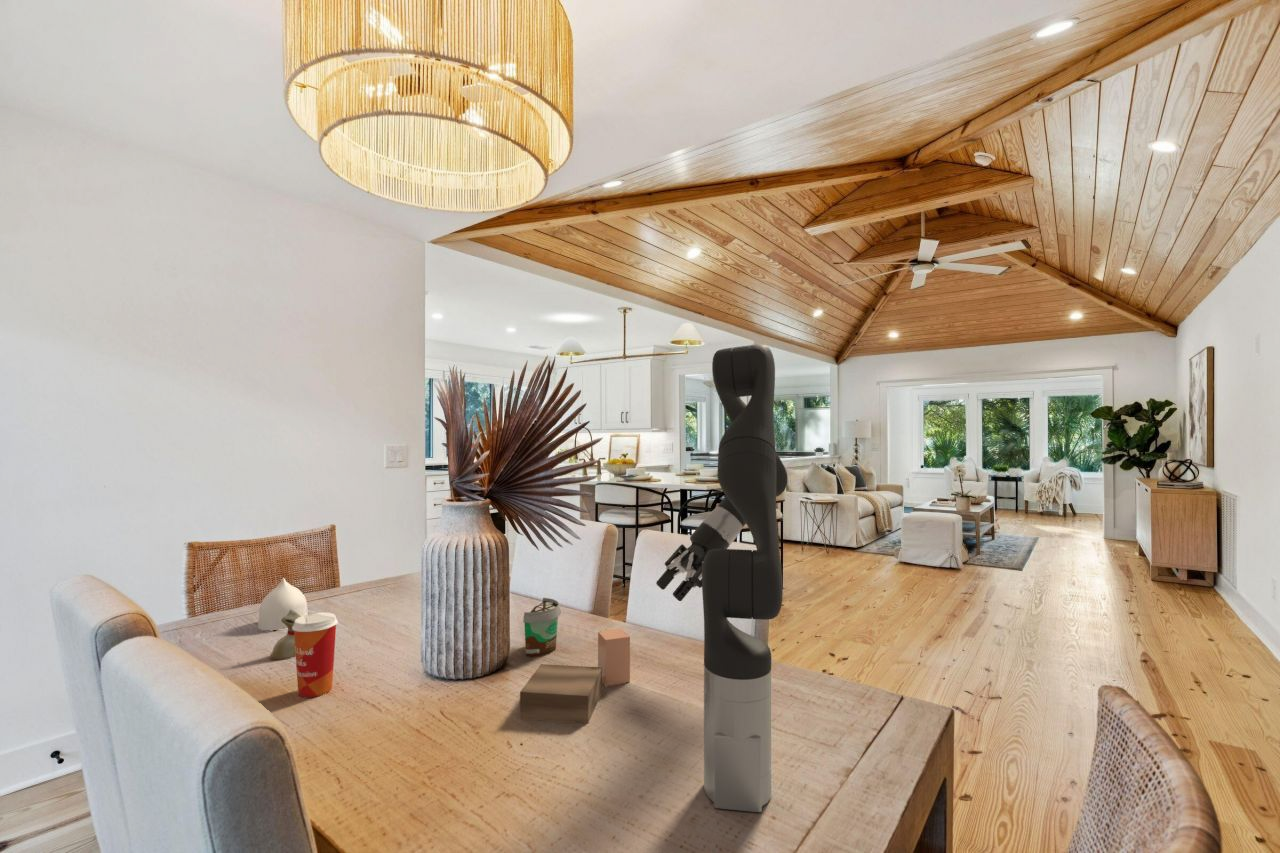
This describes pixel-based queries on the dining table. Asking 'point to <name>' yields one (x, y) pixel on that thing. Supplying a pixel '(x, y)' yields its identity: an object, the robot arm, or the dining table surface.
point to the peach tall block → (614, 656)
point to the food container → (541, 628)
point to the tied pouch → (286, 639)
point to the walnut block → (561, 693)
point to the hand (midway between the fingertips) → (667, 592)
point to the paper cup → (315, 653)
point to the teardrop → (281, 606)
